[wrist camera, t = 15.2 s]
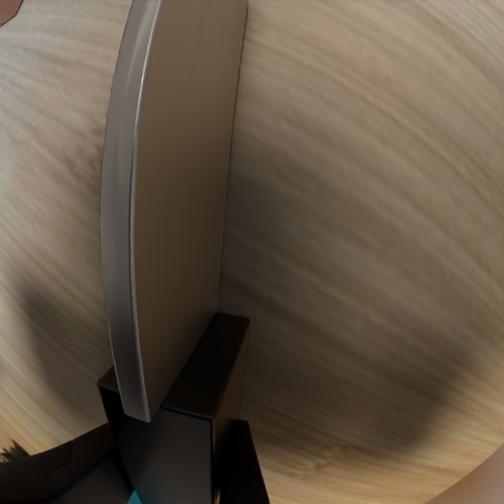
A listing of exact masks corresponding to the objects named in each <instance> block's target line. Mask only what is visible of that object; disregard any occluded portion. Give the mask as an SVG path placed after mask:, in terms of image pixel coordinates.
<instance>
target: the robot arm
mask: <svg viewBox="0 0 504 504" xmlns="http://www.w3.org/2000/svg"><path fill="white" fill-rule="evenodd" d="M134 490H135V489H134V487H133V485H132V483H131V481H130V479H129V476H128V474H127V472H126V469H125V467H124V465H123V462H122V460H121V457H120V455H119V452H118V449H117V447H116V444H115V441H114V439H113V436H112V433H111V430H110V427H109V424H108V422H107V423H105V424H103V425H101V426H99V427H97V428H95V429H93V430H91V431H89V432H87V433H85V434H83V435H81V436H79V437H77V438H75V439H73V441H72V440H71V441H69V442H66V443H64V444H62V445H60V446H57V447H55V448H53V449H50V450H47V451H44V452H41V453H38V454H35V455H31V456H28V457H24V458H21V459H17V460H13V461H8V462H0V504H127V503H128V501H129V499H130V498H131V496H132V494H133V492H134ZM269 502H270V501H269V498H268V494H267V491H266V487H265V484H264V480H263V477H262V473H261V469H260V466H259V462H258V458H257V455H256V451H255V447H254V443H253V439H252V435H251V432H250V428H249V424H248V421H246V420H241V419H236V420H235V423H234V426H233V429H232V432H231V435H230V438H229V441H228V444H227V447H226V450H225V454H224V463H223V472H222V481H221V490H220V499H219V504H270V503H269Z"/></svg>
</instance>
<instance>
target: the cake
mask: <svg viewBox="0 0 504 504" xmlns="http://www.w3.org/2000/svg"><path fill="white" fill-rule="evenodd" d="M21 2H22V0H0V26H1V25H2V24H4V23H5V22H6V21H8V20H9V19H11V18H12V17H14V16H15V15H16V13H17V11H18V8H19V6H20V4H21Z"/></svg>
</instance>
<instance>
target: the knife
mask: <svg viewBox="0 0 504 504" xmlns="http://www.w3.org/2000/svg"><path fill="white" fill-rule="evenodd" d="M247 8H248V0H133V3H132V6H131V9H130V12H129V16H128V19H127V23H126V26H125V30H124V34H123V37H122V41H121V46H120V50H119V54H118V59H117V63H116V68H115V73H114V78H113V84H112V89H111V95H110V102H109V109H108V116H107V124H106V132H105V142H104V153H103V166H102V185H101V252H102V271H103V284H104V296H105V305H106V314H107V322H108V330H109V337H110V343H111V350H112V355H113V361H114V364H113V365H112V366H111V367H110V369H109V370H108V371H107V372H106V373H105V374H104V375H103V376H102V377H101V378H100V379H99V380H98V382H97V387H98V391H99V395H100V398H101V402H102V405H103V408H104V412H105V415H106V418H107V421H108V424H109V427H110V430H111V433H112V436H113V439H114V441H115V444H116V447H117V449H118V452H119V455H120V457H121V460H122V462H123V465H124V467H125V469H126V472H127V474H128V476H129V479H130V481H131V483H132V485H133V487H134V489H135V492H136V494H137V496H138V498H139V500H140V502H141V504H219V499H220V490H221V481H222V472H223V463H224V454H225V450H226V447H227V444H228V441H229V438H230V435H231V432H232V429H233V426H234V423H235V420H236V419H240V412H241V403H242V394H243V385H244V377H245V368H246V359H247V350H248V340H249V331H250V322H251V321H250V318H247V317H241V316H235V315H229V314H223V313H217V311H218V300H219V283H220V268H221V254H222V240H223V227H224V215H225V203H226V191H227V180H228V169H229V158H230V148H231V138H232V129H233V119H234V110H235V101H236V92H237V84H238V76H239V67H240V59H241V52H242V44H243V37H244V29H245V22H246V15H247Z"/></svg>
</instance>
